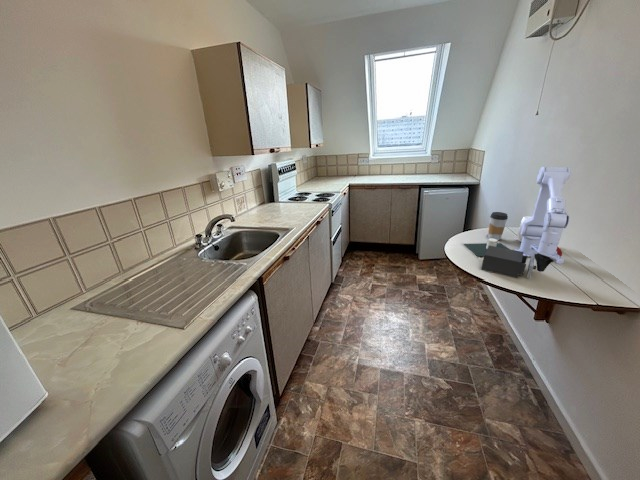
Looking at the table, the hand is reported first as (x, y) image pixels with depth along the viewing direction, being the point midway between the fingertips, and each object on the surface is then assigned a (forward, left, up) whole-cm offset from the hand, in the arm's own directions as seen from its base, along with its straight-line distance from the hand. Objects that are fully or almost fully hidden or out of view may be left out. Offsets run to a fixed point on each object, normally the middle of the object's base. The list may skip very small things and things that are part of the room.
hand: (540, 270), depth 113 cm
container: (+4, -29, -2) cm, 30 cm away
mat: (+5, -28, -3) cm, 29 cm away
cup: (-19, -37, -3) cm, 42 cm away
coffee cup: (-6, -44, -3) cm, 45 cm away
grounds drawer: (+7, -5, -2) cm, 9 cm away
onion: (-17, -15, -3) cm, 23 cm away
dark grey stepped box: (+11, -8, -3) cm, 14 cm away
